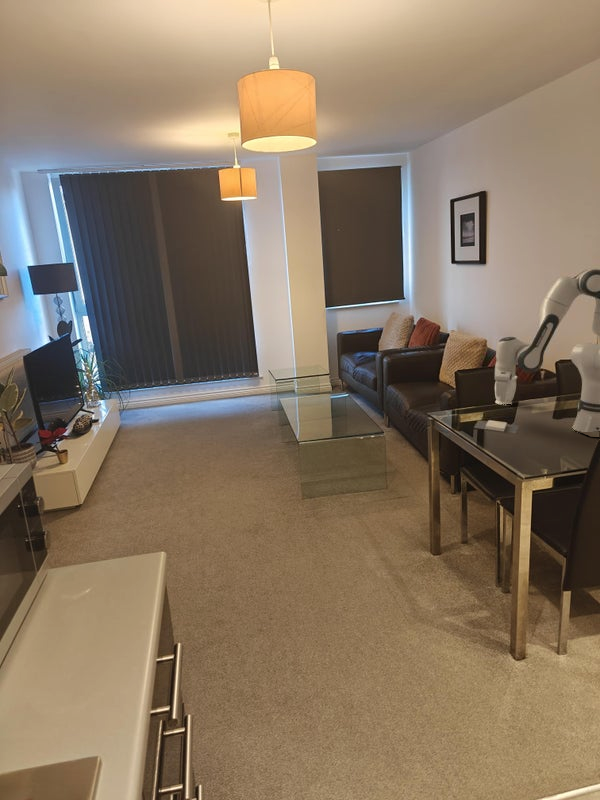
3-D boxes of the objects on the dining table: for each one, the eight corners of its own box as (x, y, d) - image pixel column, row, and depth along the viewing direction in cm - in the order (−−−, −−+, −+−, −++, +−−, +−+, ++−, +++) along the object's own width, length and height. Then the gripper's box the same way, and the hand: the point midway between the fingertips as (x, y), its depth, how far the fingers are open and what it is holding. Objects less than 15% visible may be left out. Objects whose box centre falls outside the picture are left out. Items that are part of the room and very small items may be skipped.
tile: (506, 422, 244) (504, 428, 236) (506, 426, 244) (503, 431, 237) (488, 420, 247) (485, 425, 240) (488, 423, 248) (485, 429, 240)
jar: (516, 406, 274) (519, 378, 270) (495, 405, 276) (498, 377, 272) (511, 400, 284) (514, 373, 280) (491, 400, 286) (494, 373, 282)
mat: (518, 426, 245) (518, 425, 244) (515, 434, 234) (515, 433, 234) (478, 420, 252) (478, 420, 252) (473, 428, 242) (473, 427, 242)
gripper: (501, 366, 254) (499, 394, 259) (494, 377, 237) (492, 406, 241) (515, 367, 251) (513, 395, 256) (509, 378, 234) (506, 408, 239)
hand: (502, 400), depth 248 cm, fingers closed
